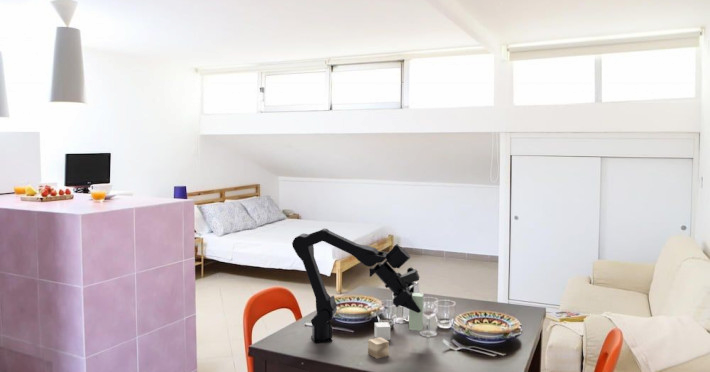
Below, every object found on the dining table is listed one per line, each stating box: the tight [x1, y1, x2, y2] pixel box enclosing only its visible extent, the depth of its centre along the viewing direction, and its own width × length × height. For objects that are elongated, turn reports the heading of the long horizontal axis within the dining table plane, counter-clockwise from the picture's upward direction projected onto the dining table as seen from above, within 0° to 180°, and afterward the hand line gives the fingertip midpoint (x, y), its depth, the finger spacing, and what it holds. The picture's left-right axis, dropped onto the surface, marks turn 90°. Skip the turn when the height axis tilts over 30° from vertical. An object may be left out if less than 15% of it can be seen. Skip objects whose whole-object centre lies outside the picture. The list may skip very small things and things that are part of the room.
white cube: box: [373, 321, 391, 341], centre depth 204 cm, size 5×5×5 cm
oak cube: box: [367, 337, 390, 360], centre depth 187 cm, size 5×5×5 cm
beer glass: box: [402, 281, 420, 323], centre depth 224 cm, size 7×7×15 cm
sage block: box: [408, 292, 424, 332], centre depth 194 cm, size 4×4×12 cm
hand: (420, 309), depth 194 cm, fingers closed on sage block, 4 cm apart
